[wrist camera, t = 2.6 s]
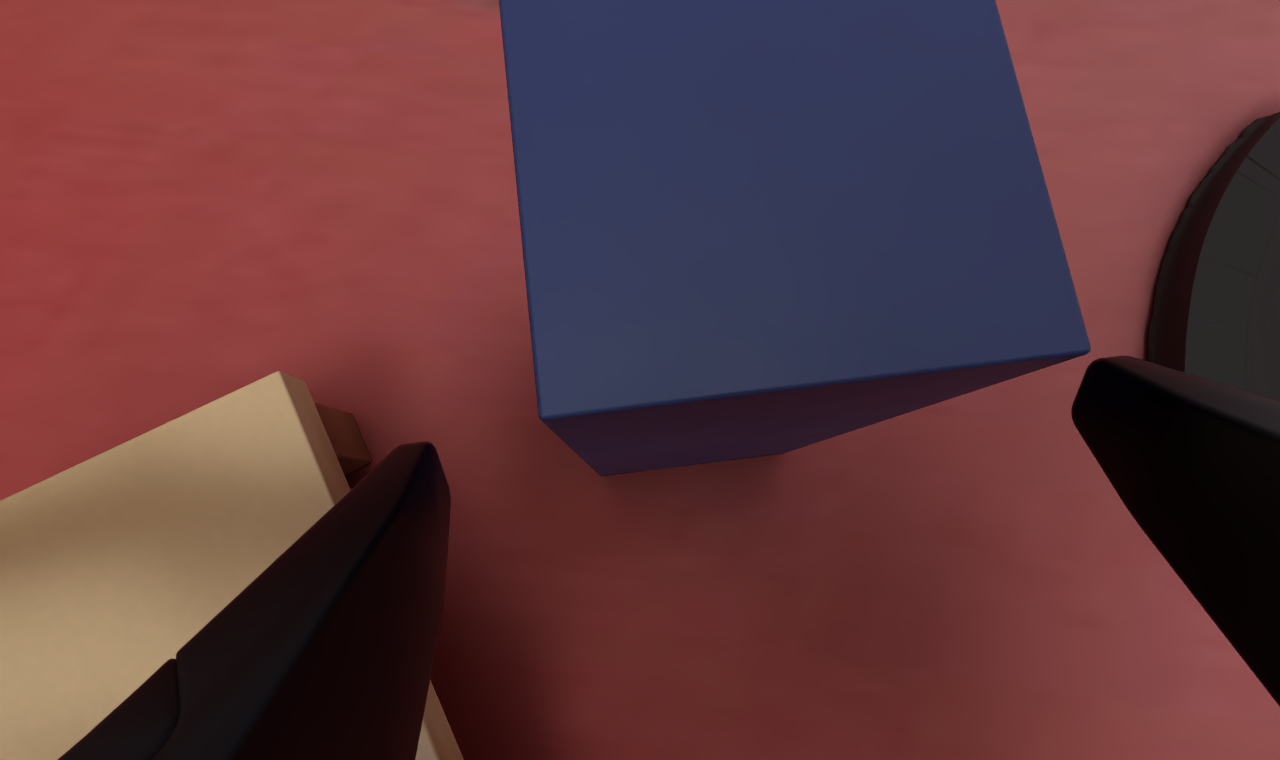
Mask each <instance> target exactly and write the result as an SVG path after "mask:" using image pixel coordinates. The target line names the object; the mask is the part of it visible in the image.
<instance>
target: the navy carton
mask: <svg viewBox="0 0 1280 760" xmlns="http://www.w3.org/2000/svg"><path fill="white" fill-rule="evenodd" d="M499 6H500V17H501V27H502V38H503V48H504V59H505V69H506V79H507V90H508V100H509V111H510V121H511V132H512V142H513V153H514V163H515V174H516V184H517V195H518V205H519V216H520V226H521V237H522V247H523V258H524V268H525V279H526V289H527V300H528V310H529V320H530V331H531V341H532V352H533V362H534V373H535V383H536V394H537V404H538V415H539V418H540V419H541V420H542V421H543V422H544V423H545V424H546V425H547V426H548V427H549V428H550V429H551V430H552V431H553V432H554V433H555V434H557V435H558V436H559V437H560V438H561V439H562V440H563V441H564V442H565V443H566V444H567V445H568V446H569V447H570V448H572V449H573V450H574V451H575V452H576V453H577V454H578V455H579V456H580V457H581V458H582V459H583V460H584V461H585V462H586V463H588V464H589V465H590V466H591V467H592V468H593V469H594V470H595V471H596V472H597V473H598V474H599V475H600V476H608V475H616V474H624V473H632V472H640V471H648V470H656V469H663V468H671V467H679V466H687V465H695V464H703V463H711V462H719V461H726V460H734V459H742V458H750V457H758V456H766V455H774V454H782V453H786V452H789V451H792V450H795V449H798V448H801V447H804V446H807V445H810V444H813V443H816V442H819V441H822V440H826V439H829V438H832V437H835V436H838V435H841V434H844V433H847V432H850V431H853V430H856V429H859V428H862V427H865V426H868V425H871V424H874V423H877V422H881V421H884V420H887V419H890V418H893V417H896V416H899V415H902V414H905V413H908V412H911V411H914V410H917V409H920V408H923V407H926V406H929V405H932V404H936V403H939V402H942V401H945V400H948V399H951V398H954V397H957V396H960V395H963V394H966V393H969V392H972V391H975V390H978V389H981V388H984V387H987V386H991V385H994V384H997V383H1000V382H1003V381H1006V380H1009V379H1012V378H1015V377H1018V376H1021V375H1024V374H1027V373H1030V372H1033V371H1036V370H1039V369H1042V368H1046V367H1049V366H1052V365H1055V364H1058V363H1061V362H1064V361H1067V360H1070V359H1073V358H1076V357H1079V356H1082V355H1085V354H1087V353H1089V352H1090V350H1091V347H1090V343H1089V339H1088V336H1087V332H1086V329H1085V325H1084V321H1083V318H1082V314H1081V310H1080V307H1079V303H1078V299H1077V296H1076V292H1075V289H1074V285H1073V281H1072V278H1071V274H1070V270H1069V267H1068V263H1067V259H1066V256H1065V252H1064V249H1063V245H1062V241H1061V238H1060V234H1059V230H1058V227H1057V223H1056V220H1055V216H1054V212H1053V209H1052V205H1051V201H1050V198H1049V194H1048V190H1047V187H1046V183H1045V180H1044V176H1043V172H1042V169H1041V165H1040V161H1039V158H1038V154H1037V150H1036V147H1035V143H1034V140H1033V136H1032V132H1031V129H1030V125H1029V121H1028V118H1027V114H1026V111H1025V107H1024V103H1023V100H1022V96H1021V92H1020V89H1019V85H1018V81H1017V78H1016V74H1015V71H1014V67H1013V63H1012V60H1011V56H1010V52H1009V49H1008V45H1007V41H1006V38H1005V34H1004V31H1003V27H1002V23H1001V20H1000V16H999V12H998V9H997V5H996V2H995V0H499Z"/></svg>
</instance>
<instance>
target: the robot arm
mask: <svg viewBox="0 0 1280 760" xmlns="http://www.w3.org/2000/svg"><path fill="white" fill-rule="evenodd" d="M1071 414H1072V419H1073V422H1074V425H1075V426H1076V428H1077V430H1078V431H1079V433H1080V434H1081V436H1082V438H1083V439H1084V441H1085V442H1086V444H1087V446H1088V447H1089V449H1090V450H1091V452H1092V453H1093V455H1094V457H1095V458H1096V460H1097V461H1098V463H1099V465H1100V466H1101V468H1102V469H1103V471H1104V473H1105V474H1106V476H1107V477H1108V479H1109V481H1110V482H1111V484H1112V485H1113V487H1114V488H1115V490H1116V492H1117V493H1118V495H1119V496H1120V498H1121V500H1122V501H1123V503H1124V504H1125V506H1126V507H1127V509H1128V510H1129V512H1130V513H1131V515H1132V516H1133V517H1134V519H1135V520H1136V522H1137V523H1138V524H1139V526H1140V527H1141V528H1142V530H1143V531H1144V532H1145V534H1146V535H1147V536H1148V537H1149V539H1150V540H1151V541H1152V543H1153V544H1154V545H1155V546H1156V548H1157V549H1158V550H1159V552H1160V553H1161V554H1162V555H1163V557H1164V558H1165V559H1166V561H1167V562H1168V563H1169V564H1170V566H1171V567H1172V568H1173V570H1174V571H1175V572H1176V574H1177V575H1178V576H1179V577H1180V579H1181V580H1182V581H1183V583H1184V584H1185V585H1186V586H1187V588H1188V589H1189V590H1190V592H1191V593H1192V594H1193V595H1194V597H1195V598H1196V599H1197V601H1198V602H1199V603H1200V604H1201V606H1202V607H1203V608H1204V610H1205V611H1206V612H1207V613H1208V615H1209V616H1210V617H1211V619H1212V620H1213V621H1214V622H1215V624H1216V625H1217V626H1218V628H1219V629H1220V630H1221V632H1222V633H1223V634H1224V635H1225V637H1226V638H1227V639H1228V641H1229V642H1230V643H1231V644H1232V646H1233V647H1234V648H1235V650H1236V651H1237V652H1238V653H1239V655H1240V656H1241V657H1242V659H1243V660H1244V661H1245V662H1246V664H1247V665H1248V666H1249V668H1250V669H1251V670H1252V671H1253V673H1254V674H1255V675H1256V677H1257V678H1258V679H1259V680H1260V682H1261V683H1262V684H1263V686H1264V687H1265V688H1266V690H1267V691H1268V692H1269V693H1270V695H1271V696H1272V697H1273V699H1274V700H1275V701H1276V702H1277V704H1278V705H1279V706H1280V401H1278V400H1275V399H1272V398H1268V397H1265V396H1262V395H1258V394H1255V393H1252V392H1248V391H1245V390H1242V389H1238V388H1235V387H1231V386H1228V385H1225V384H1221V383H1218V382H1215V381H1211V380H1208V379H1205V378H1201V377H1198V376H1195V375H1191V374H1188V373H1185V372H1181V371H1178V370H1175V369H1171V368H1168V367H1165V366H1161V365H1158V364H1155V363H1151V362H1148V361H1144V360H1141V359H1138V358H1134V357H1131V356H1116V357H1108V358H1100V359H1097V360H1095V361H1093V362H1092V363H1091V364H1090V365H1089V366H1088V368H1087V369H1086V372H1085V374H1084V377H1083V379H1082V382H1081V385H1080V387H1079V390H1078V392H1077V395H1076V397H1075V400H1074V402H1073V405H1072V411H1071ZM450 505H451V499H450V490H449V486H448V483H447V480H446V477H445V474H444V471H443V468H442V465H441V463H440V460H439V457H438V454H437V451H436V449H435V447H434V446H433V444H432V443H430V442H417V443H409V444H403V445H400V446H398V447H397V448H395V449H394V450H393V451H392V452H391V453H390V454H389V455H388V456H387V457H386V458H385V459H383V460H382V461H381V462H380V463H379V464H378V465H377V466H376V467H375V468H374V469H373V470H372V471H371V472H370V473H368V474H367V475H366V476H365V477H364V478H363V479H362V480H361V481H360V482H359V483H358V484H357V485H356V486H355V487H353V488H352V489H351V490H350V491H349V492H348V493H347V494H346V495H345V496H344V497H343V498H342V499H341V500H340V501H338V502H337V503H336V504H335V505H334V506H333V507H332V508H331V509H330V510H329V511H328V512H327V513H326V514H324V515H323V516H322V517H321V518H320V519H319V520H318V521H317V522H316V523H315V524H314V525H313V526H312V527H311V528H309V529H308V530H307V531H306V532H305V533H304V534H303V535H302V536H301V537H300V538H299V539H298V540H297V541H296V542H294V543H293V544H292V545H291V546H290V547H289V548H288V549H287V550H286V551H285V552H284V553H283V554H282V555H281V556H279V557H278V558H277V559H276V560H275V561H274V562H273V563H272V564H271V565H270V566H269V567H268V568H267V569H265V570H264V571H263V572H262V573H261V574H260V575H259V576H258V577H257V578H256V579H255V580H254V581H253V582H252V583H250V584H249V585H248V586H247V587H246V588H245V589H244V590H243V591H242V592H241V593H240V594H239V595H238V596H237V597H235V598H234V599H233V600H232V601H231V602H230V603H229V604H228V605H227V606H226V607H225V608H224V609H223V610H222V611H220V612H219V613H218V614H217V615H216V616H215V617H214V618H213V619H212V620H211V621H210V622H209V623H208V624H207V625H205V626H204V627H203V628H202V629H201V630H200V631H199V632H198V633H197V634H196V635H195V636H194V637H193V638H191V639H190V640H189V641H188V642H187V643H186V644H185V645H184V646H183V647H182V648H181V649H180V650H179V651H178V652H177V653H176V659H173V658H172V659H169V660H168V661H166V662H165V663H164V664H163V665H162V666H161V667H160V668H159V669H158V670H157V671H156V672H155V673H154V674H153V675H151V676H150V677H149V678H148V679H147V680H146V681H145V682H144V683H143V684H142V685H141V686H140V687H139V688H138V689H136V690H135V691H134V692H133V693H132V694H131V695H130V696H129V697H128V698H126V699H125V700H124V701H123V702H122V703H121V704H120V705H119V706H118V707H117V708H115V709H114V710H113V711H112V712H111V713H110V714H109V715H108V716H107V717H105V718H104V719H103V720H102V721H101V722H100V723H99V724H98V725H97V726H95V727H94V728H93V729H92V730H91V731H90V732H89V733H88V734H87V735H85V736H84V737H83V738H82V739H81V740H80V741H79V742H78V743H76V744H75V745H74V746H73V747H72V748H70V749H69V750H68V751H67V752H66V753H65V754H63V755H62V756H61V757H60V758H59V759H58V760H415V759H416V753H417V748H418V743H419V737H420V732H421V727H422V721H423V716H424V711H425V705H426V700H427V695H428V689H429V684H430V679H431V673H432V668H433V663H434V658H435V652H436V647H437V642H438V636H439V631H440V626H441V619H442V613H443V606H444V595H445V582H446V566H447V551H448V536H449V521H450Z"/></svg>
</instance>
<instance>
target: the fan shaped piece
mask: <svg viewBox="0 0 1280 760" xmlns="http://www.w3.org/2000/svg"><path fill="white" fill-rule="evenodd" d="M1148 346H1149V348H1148V352H1149V355H1148V362H1151V363H1155V364H1158V365H1161V366H1165V367H1168V368H1171V369H1175V370H1178V371H1181V372H1185V373H1188V374H1191V375H1195V376H1198V377H1201V378H1205V379H1208V380H1211V381H1215V382H1218V383H1221V384H1225V385H1228V386H1231V387H1235V388H1238V389H1242V390H1245V391H1248V392H1252V393H1255V394H1258V395H1262V396H1265V397H1268V398H1272V399H1275V400H1278V401H1280V112H1278V113H1276V114H1273V115H1271V116H1268V117H1263V118H1260V119H1257V120H1255V121H1254V122H1253V123H1252V124H1251V125H1249V126H1248V127H1247V128H1246V129H1244V131H1243V132H1242V134H1241V136H1240V138H1239V139H1237V140H1236V141H1234V143H1232V144H1231V145H1230V146H1229V147H1228V149H1227V150H1226V151H1225V152H1224V155H1223V156H1222V157H1221V158H1220V159H1219V160H1218V161H1217V163H1216V164H1215V165H1214V166H1213V167H1212V168H1211V169H1210V171H1209V174H1208V175H1207V176H1206V177H1205V178H1204V179H1203V180H1202V181H1201V183H1200V185H1199V186H1198V188H1197V189H1196V190H1195V191H1194V192H1193V194H1192V196H1191V197H1190V199H1189V201H1188V203H1187V208H1186V209H1185V210H1184V211H1183V212H1182V215H1181V218H1180V219H1179V222H1178V225H1177V227H1176V229H1175V230H1174V232H1173V234H1172V236H1171V238H1170V241H1169V244H1168V247H1167V251H1166V254H1165V256H1164V258H1163V263H1162V266H1161V270H1160V276H1159V278H1158V282H1157V286H1156V291H1155V301H1154V307H1153V316H1152V319H1151V323H1150V325H1149V333H1148Z"/></svg>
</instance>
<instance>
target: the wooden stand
mask: <svg viewBox="0 0 1280 760" xmlns="http://www.w3.org/2000/svg"><path fill="white" fill-rule="evenodd" d="M371 461H372V460H371V457H370V455H369V453H368V450H367V448H366V446H365V443H364V441H363V439H362V436H361V434H360V432H359V429H358V427H357V425H356V422H355V420H354V418H353V416H352V414H350V413H347V412H343V411H340V410H337V409H334V408H331V407H328V406H325V405H322V404H318V403H315V402H314V401H313V399H312V397H311V394H310V392H309V390H308V387H307V385H306V382H305V381H304V380H301V379H299V378H296V377H294V376H291V375H288V374H286V373H283V372H280V371H277V372H275V373H272V374H270V375H268V376H266V377H264V378H262V379H260V380H258V381H255V382H253V383H251V384H249V385H247V386H245V387H243V388H240V389H238V390H236V391H234V392H232V393H230V394H228V395H225V396H223V397H221V398H219V399H217V400H215V401H213V402H210V403H208V404H206V405H204V406H202V407H200V408H198V409H196V410H193V411H191V412H189V413H187V414H185V415H183V416H181V417H178V418H176V419H174V420H172V421H170V422H168V423H166V424H163V425H161V426H159V427H157V428H155V429H153V430H151V431H148V432H146V433H144V434H142V435H140V436H138V437H136V438H134V439H131V440H129V441H127V442H125V443H123V444H121V445H119V446H116V447H114V448H112V449H110V450H108V451H106V452H104V453H101V454H99V455H97V456H95V457H93V458H91V459H89V460H87V461H84V462H82V463H80V464H78V465H76V466H74V467H72V468H69V469H67V470H65V471H63V472H61V473H59V474H57V475H54V476H52V477H50V478H48V479H46V480H44V481H42V482H39V483H37V484H35V485H33V486H31V487H29V488H27V489H25V490H22V491H20V492H18V493H16V494H14V495H12V496H10V497H7V498H5V499H3V500H1V501H0V760H58V759H59V758H60V757H61V756H62V755H63V754H65V753H66V752H67V751H68V750H69V749H70V748H72V747H73V746H74V745H75V744H76V743H78V742H79V741H80V740H81V739H82V738H83V737H84V736H85V735H87V734H88V733H89V732H90V731H91V730H92V729H93V728H94V727H95V726H97V725H98V724H99V723H100V722H101V721H102V720H103V719H104V718H105V717H107V716H108V715H109V714H110V713H111V712H112V711H113V710H114V709H115V708H117V707H118V706H119V705H120V704H121V703H122V702H123V701H124V700H125V699H126V698H128V697H129V696H130V695H131V694H132V693H133V692H134V691H135V690H136V689H138V688H139V687H140V686H141V685H142V684H143V683H144V682H145V681H146V680H147V679H148V678H149V677H150V676H151V675H153V674H154V673H155V672H156V671H157V670H158V669H159V668H160V667H161V666H162V665H163V664H164V663H165V662H166V661H168V660H169V659H172V658H173V659H176V653H177V652H178V651H179V650H180V649H181V648H182V647H183V646H184V645H185V644H186V643H187V642H188V641H189V640H190V639H191V638H193V637H194V636H195V635H196V634H197V633H198V632H199V631H200V630H201V629H202V628H203V627H204V626H205V625H207V624H208V623H209V622H210V621H211V620H212V619H213V618H214V617H215V616H216V615H217V614H218V613H219V612H220V611H222V610H223V609H224V608H225V607H226V606H227V605H228V604H229V603H230V602H231V601H232V600H233V599H234V598H235V597H237V596H238V595H239V594H240V593H241V592H242V591H243V590H244V589H245V588H246V587H247V586H248V585H249V584H250V583H252V582H253V581H254V580H255V579H256V578H257V577H258V576H259V575H260V574H261V573H262V572H263V571H264V570H265V569H267V568H268V567H269V566H270V565H271V564H272V563H273V562H274V561H275V560H276V559H277V558H278V557H279V556H281V555H282V554H283V553H284V552H285V551H286V550H287V549H288V548H289V547H290V546H291V545H292V544H293V543H294V542H296V541H297V540H298V539H299V538H300V537H301V536H302V535H303V534H304V533H305V532H306V531H307V530H308V529H309V528H311V527H312V526H313V525H314V524H315V523H316V522H317V521H318V520H319V519H320V518H321V517H322V516H323V515H324V514H326V513H327V512H328V511H329V510H330V509H331V508H332V507H333V506H334V505H335V504H336V503H337V502H338V501H340V500H341V499H342V498H343V497H344V496H345V495H346V494H347V493H348V492H349V491H350V487H349V485H348V482H347V480H346V478H345V475H346V474H348V473H350V472H352V471H354V470H356V469H358V468H360V467H362V466H364V465H366V464H368V463H370V462H371ZM415 760H464V759H463V756H462V754H461V752H460V749H459V747H458V745H457V742H456V740H455V737H454V735H453V733H452V730H451V728H450V725H449V723H448V721H447V718H446V716H445V714H444V711H443V709H442V706H441V704H440V702H439V699H438V697H437V694H436V692H435V690H434V687H433V685H432V683H431V680H430V684H429V689H428V695H427V700H426V705H425V711H424V716H423V721H422V727H421V732H420V737H419V743H418V748H417V753H416V759H415Z"/></svg>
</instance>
